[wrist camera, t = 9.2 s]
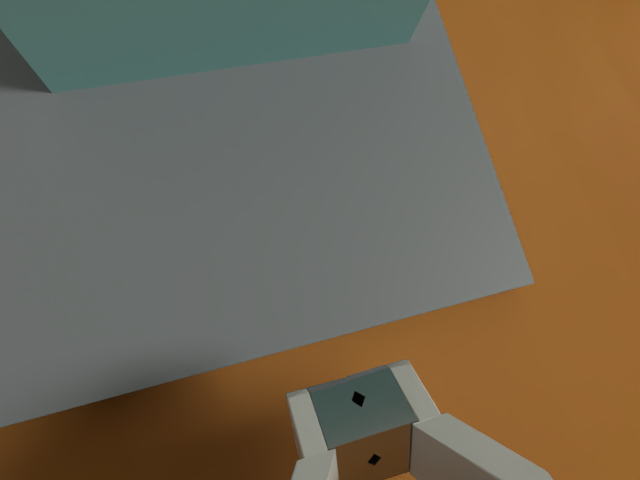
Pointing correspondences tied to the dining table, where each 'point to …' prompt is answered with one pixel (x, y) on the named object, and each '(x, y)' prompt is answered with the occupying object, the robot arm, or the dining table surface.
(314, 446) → the robot arm
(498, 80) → the dining table surface
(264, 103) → the slate board
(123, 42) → the tee block
